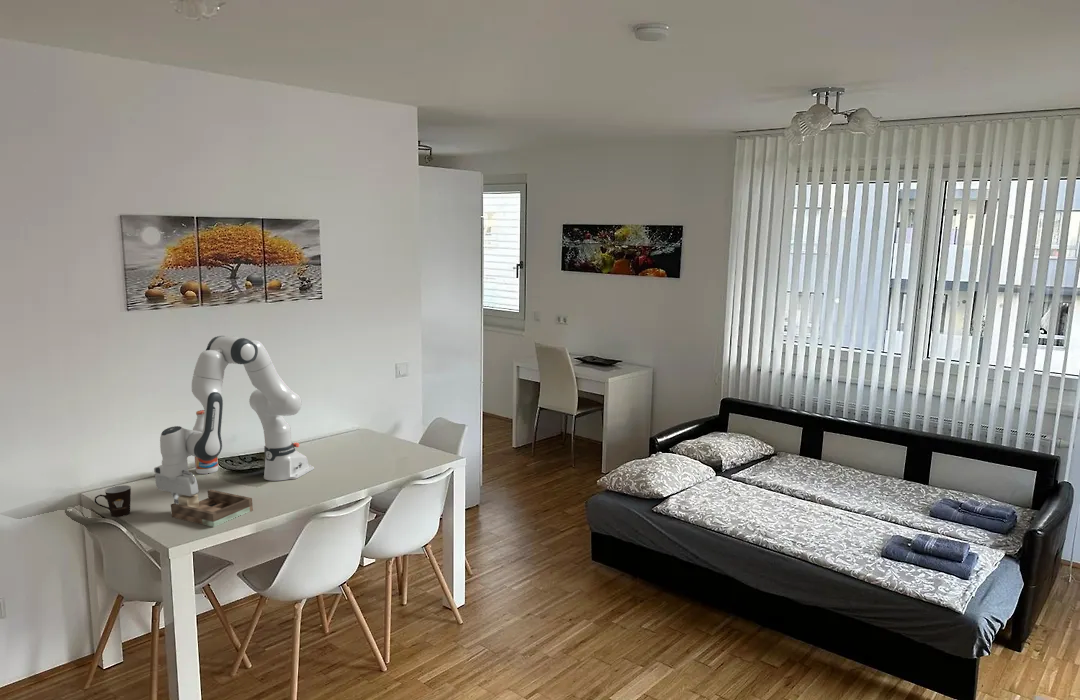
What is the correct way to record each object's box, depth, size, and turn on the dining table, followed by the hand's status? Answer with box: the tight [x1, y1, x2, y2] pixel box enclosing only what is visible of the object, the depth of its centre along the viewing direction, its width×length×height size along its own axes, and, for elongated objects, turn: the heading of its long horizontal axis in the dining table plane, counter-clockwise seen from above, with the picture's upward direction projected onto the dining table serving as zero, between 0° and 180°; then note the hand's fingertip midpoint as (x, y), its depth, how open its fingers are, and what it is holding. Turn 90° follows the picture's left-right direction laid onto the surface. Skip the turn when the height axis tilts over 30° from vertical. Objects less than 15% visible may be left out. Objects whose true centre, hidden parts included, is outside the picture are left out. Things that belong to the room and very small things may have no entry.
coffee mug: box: [94, 484, 132, 518], centre depth 283 cm, size 12×9×10 cm
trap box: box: [170, 489, 254, 528], centre depth 283 cm, size 23×18×5 cm
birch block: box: [178, 493, 200, 508], centre depth 283 cm, size 5×5×5 cm
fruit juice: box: [192, 409, 219, 475], centre depth 332 cm, size 9×9×28 cm
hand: (178, 503), depth 286 cm, fingers closed
